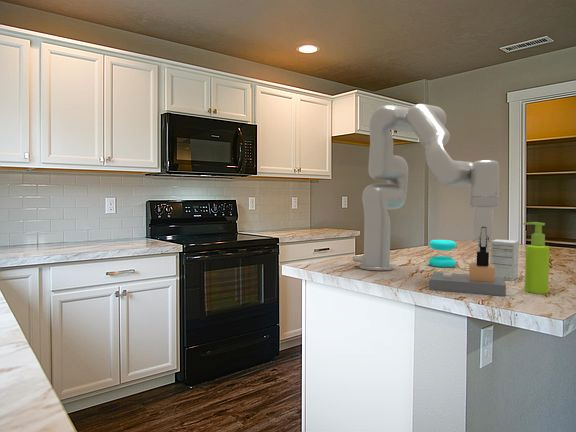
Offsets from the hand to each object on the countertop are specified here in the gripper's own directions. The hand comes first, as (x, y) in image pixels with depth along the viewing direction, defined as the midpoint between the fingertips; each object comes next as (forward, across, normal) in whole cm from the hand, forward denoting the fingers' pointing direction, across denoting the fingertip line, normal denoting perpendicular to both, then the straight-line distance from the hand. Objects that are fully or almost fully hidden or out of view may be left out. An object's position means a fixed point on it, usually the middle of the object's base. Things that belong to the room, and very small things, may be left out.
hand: (482, 265), depth 130 cm
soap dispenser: (+7, -4, +14) cm, 16 cm away
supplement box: (+7, -24, +7) cm, 26 cm away
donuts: (+7, -42, -14) cm, 45 cm away
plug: (+7, 0, 0) cm, 7 cm away
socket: (+7, 0, -4) cm, 8 cm away
